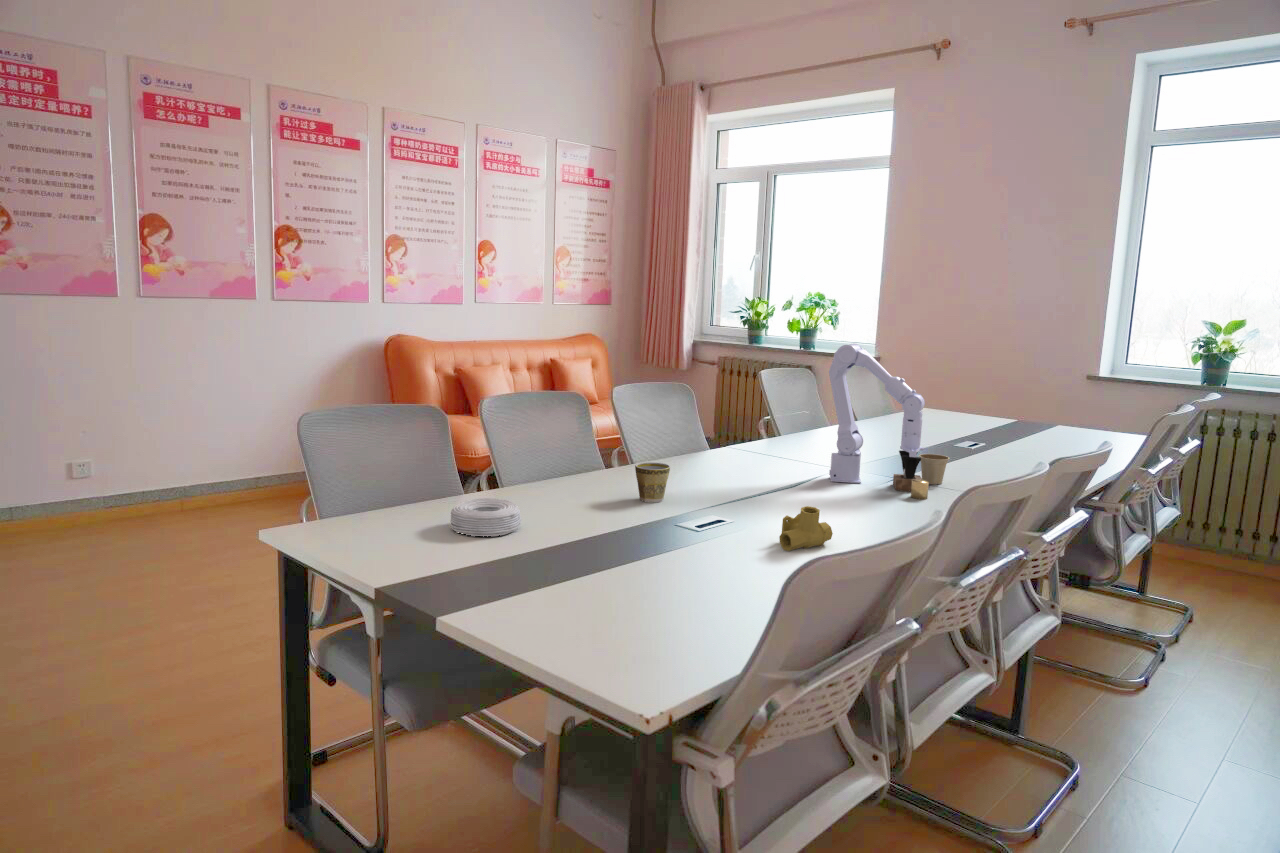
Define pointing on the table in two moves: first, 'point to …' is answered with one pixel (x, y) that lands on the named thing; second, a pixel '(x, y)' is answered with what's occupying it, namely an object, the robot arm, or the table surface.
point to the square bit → (905, 475)
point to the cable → (485, 517)
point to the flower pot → (933, 467)
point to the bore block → (903, 482)
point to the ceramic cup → (652, 480)
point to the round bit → (919, 489)
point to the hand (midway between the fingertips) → (908, 475)
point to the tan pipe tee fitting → (804, 530)
